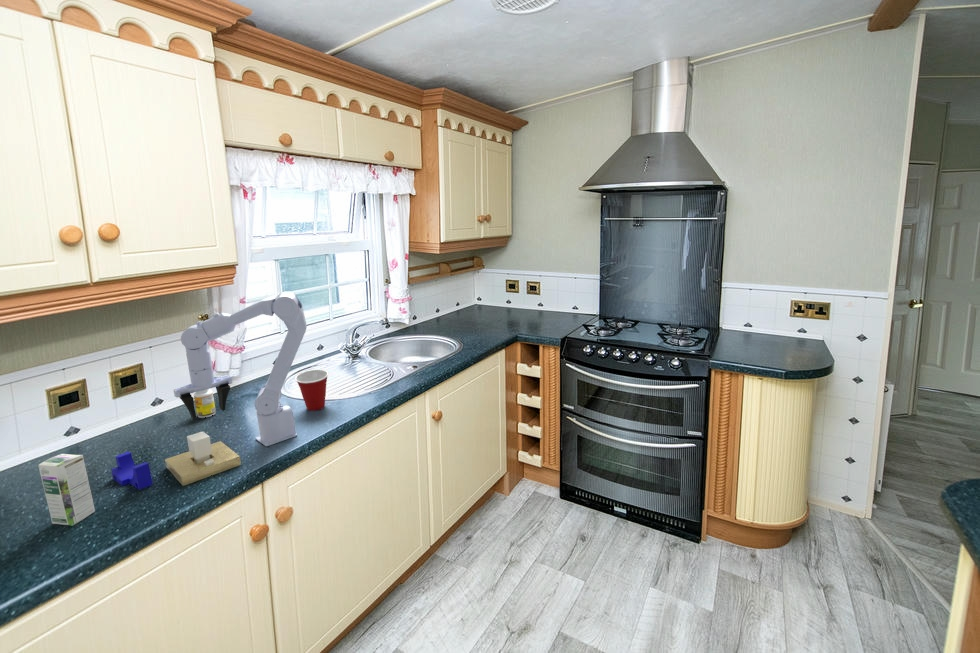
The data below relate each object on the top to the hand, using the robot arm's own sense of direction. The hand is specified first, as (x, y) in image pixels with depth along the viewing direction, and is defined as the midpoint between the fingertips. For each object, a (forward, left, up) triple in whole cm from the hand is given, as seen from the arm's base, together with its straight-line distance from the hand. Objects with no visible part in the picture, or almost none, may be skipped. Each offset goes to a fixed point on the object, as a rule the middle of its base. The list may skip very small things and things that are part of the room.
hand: (208, 413), depth 146 cm
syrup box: (+34, +13, -11) cm, 38 cm away
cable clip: (+21, +5, -11) cm, 24 cm away
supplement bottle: (-7, -28, -11) cm, 31 cm away
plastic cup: (-34, -5, -11) cm, 36 cm away
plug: (+6, +10, -10) cm, 15 cm away
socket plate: (+6, +10, -10) cm, 16 cm away
